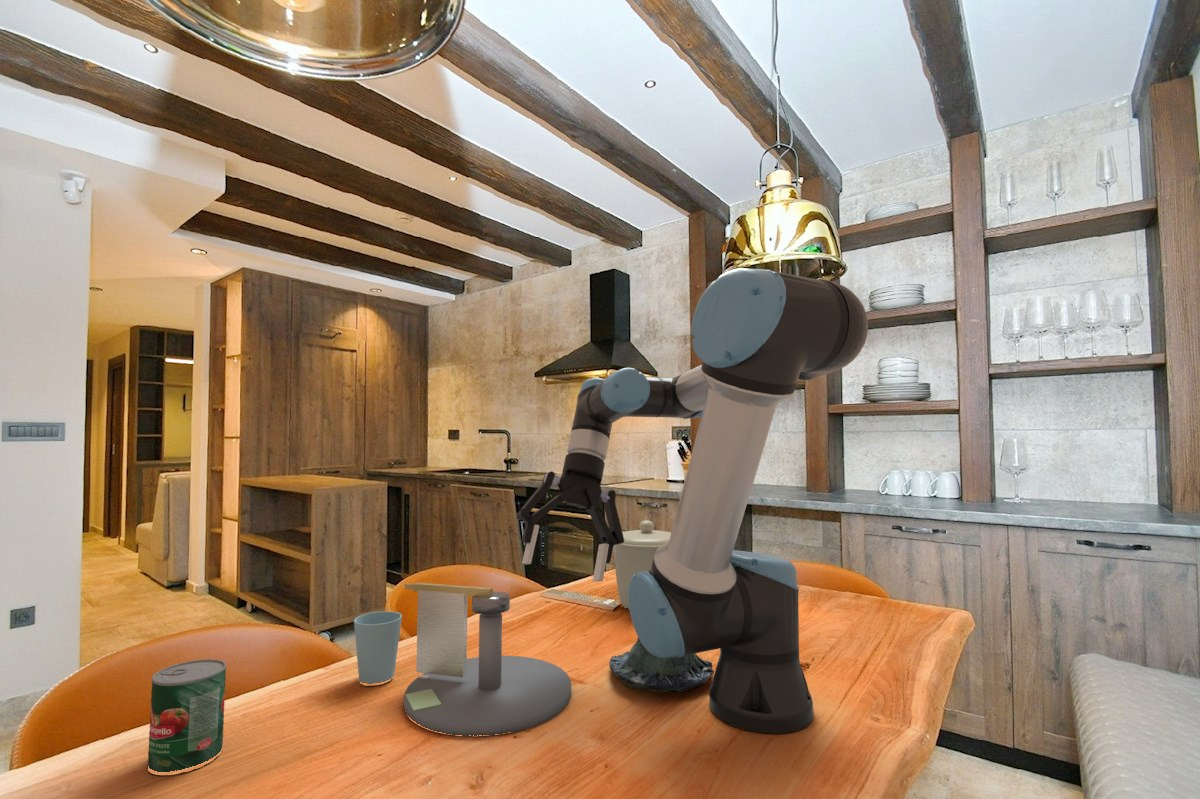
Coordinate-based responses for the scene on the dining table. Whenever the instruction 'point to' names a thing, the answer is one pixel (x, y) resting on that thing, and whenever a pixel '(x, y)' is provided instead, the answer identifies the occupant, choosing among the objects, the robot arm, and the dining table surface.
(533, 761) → the dining table surface
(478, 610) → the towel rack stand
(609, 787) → the dining table surface
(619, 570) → the canister
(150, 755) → the canned tomato
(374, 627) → the cup
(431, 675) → the stand
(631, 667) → the tree stump
